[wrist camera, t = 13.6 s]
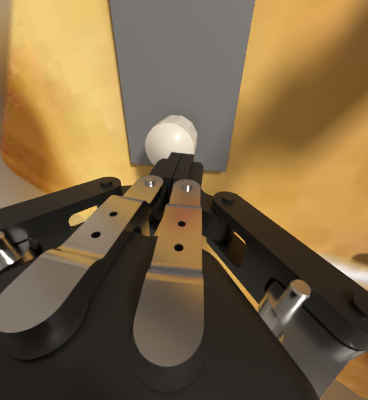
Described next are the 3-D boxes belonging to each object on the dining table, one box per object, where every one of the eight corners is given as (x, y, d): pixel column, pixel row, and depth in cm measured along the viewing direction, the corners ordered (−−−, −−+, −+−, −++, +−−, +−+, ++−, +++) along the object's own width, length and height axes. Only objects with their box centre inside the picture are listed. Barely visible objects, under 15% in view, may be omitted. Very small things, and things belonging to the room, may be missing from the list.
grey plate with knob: (108, -53, 20) (59, -111, 14) (263, -58, 18) (287, -127, 12) (134, 160, 33) (116, 179, 27) (225, 168, 32) (227, 190, 26)
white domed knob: (154, 114, 25) (142, 121, 21) (198, 116, 25) (195, 124, 21) (156, 156, 29) (147, 170, 25) (195, 159, 28) (192, 174, 24)
